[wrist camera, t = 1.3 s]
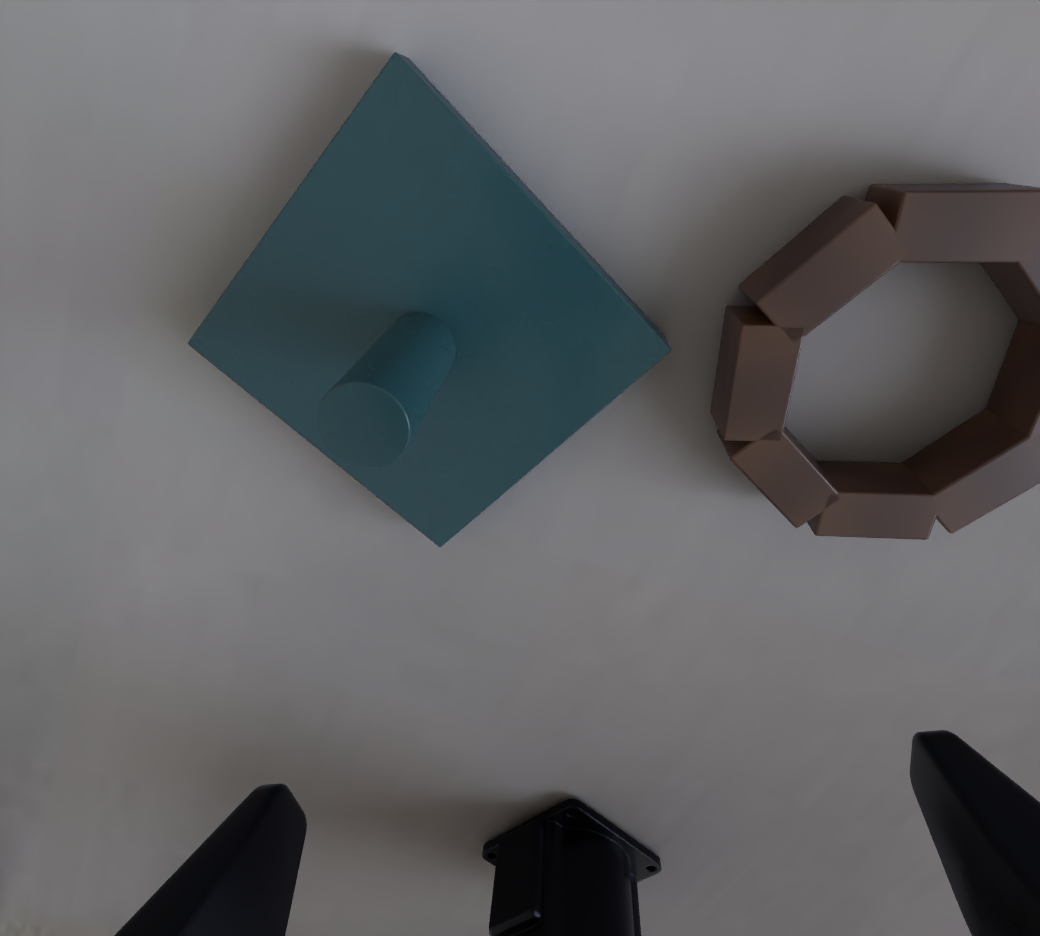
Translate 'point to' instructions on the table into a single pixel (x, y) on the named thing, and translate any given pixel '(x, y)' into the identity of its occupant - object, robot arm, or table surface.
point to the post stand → (425, 313)
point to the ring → (830, 285)
